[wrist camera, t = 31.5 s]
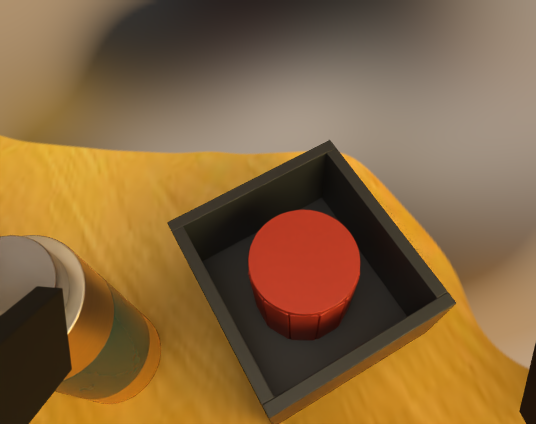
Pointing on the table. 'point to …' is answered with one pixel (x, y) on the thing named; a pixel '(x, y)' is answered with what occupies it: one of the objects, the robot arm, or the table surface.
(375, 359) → the bin
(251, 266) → the cap
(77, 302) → the spray can
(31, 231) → the table surface
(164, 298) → the table surface
